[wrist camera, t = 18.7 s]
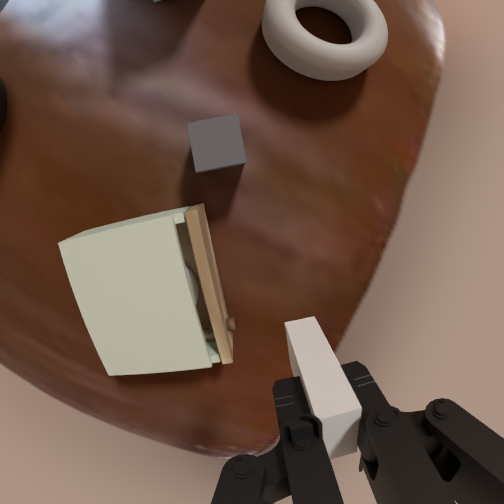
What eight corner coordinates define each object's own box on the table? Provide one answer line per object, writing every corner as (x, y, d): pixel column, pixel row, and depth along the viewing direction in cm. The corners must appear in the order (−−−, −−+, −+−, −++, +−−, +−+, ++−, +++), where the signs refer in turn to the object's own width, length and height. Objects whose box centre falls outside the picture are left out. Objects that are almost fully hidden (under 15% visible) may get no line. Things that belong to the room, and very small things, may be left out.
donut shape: (332, 106, 32) (352, 93, 26) (236, 37, 29) (237, 12, 23) (387, 40, 30) (410, 24, 23) (303, -21, 26) (313, -47, 20)
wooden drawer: (131, 347, 39) (117, 373, 32) (92, 229, 34) (67, 240, 28) (239, 333, 39) (241, 361, 33) (211, 201, 34) (206, 207, 28)
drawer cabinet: (124, 347, 39) (108, 375, 32) (85, 230, 34) (58, 243, 27) (222, 335, 39) (220, 365, 32) (191, 205, 34) (181, 213, 28)
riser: (202, 172, 33) (195, 172, 28) (195, 131, 32) (187, 123, 26) (244, 164, 33) (246, 162, 28) (237, 123, 32) (237, 113, 26)
